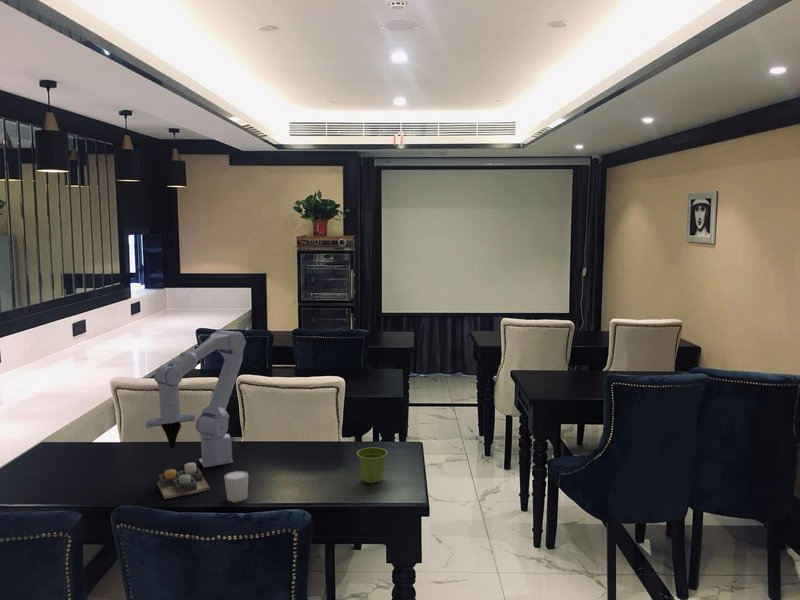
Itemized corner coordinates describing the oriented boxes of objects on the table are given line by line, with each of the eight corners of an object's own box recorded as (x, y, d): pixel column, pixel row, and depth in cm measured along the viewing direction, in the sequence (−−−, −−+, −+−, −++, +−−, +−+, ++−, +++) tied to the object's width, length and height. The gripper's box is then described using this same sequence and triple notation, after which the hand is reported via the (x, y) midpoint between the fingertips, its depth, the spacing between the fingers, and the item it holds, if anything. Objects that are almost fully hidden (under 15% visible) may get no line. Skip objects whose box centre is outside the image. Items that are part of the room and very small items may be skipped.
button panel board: (200, 476, 216) (200, 467, 216) (209, 490, 205) (209, 480, 205) (157, 484, 210) (156, 475, 210) (164, 499, 199) (163, 489, 199)
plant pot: (392, 476, 215) (391, 449, 214) (381, 487, 206) (381, 459, 205) (364, 472, 218) (363, 446, 217) (352, 483, 209) (351, 456, 208)
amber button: (175, 478, 211) (174, 468, 211) (177, 481, 208) (177, 472, 208) (163, 480, 210) (163, 470, 209) (165, 483, 207) (165, 474, 206)
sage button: (189, 483, 207) (189, 473, 207) (192, 487, 204) (191, 477, 204) (178, 485, 206) (177, 475, 205) (180, 489, 203) (179, 479, 202)
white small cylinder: (195, 471, 214) (194, 461, 214) (197, 474, 211) (197, 465, 211) (184, 473, 212) (183, 463, 212) (186, 476, 210) (185, 467, 209)
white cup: (227, 494, 202) (226, 471, 202) (250, 493, 203) (249, 470, 202) (223, 503, 196) (222, 480, 195) (247, 502, 196) (246, 479, 195)
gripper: (191, 397, 220) (193, 439, 222) (142, 404, 213) (145, 446, 215) (195, 403, 214) (198, 445, 215) (146, 409, 207) (149, 453, 209)
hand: (172, 446), depth 215 cm, fingers closed
